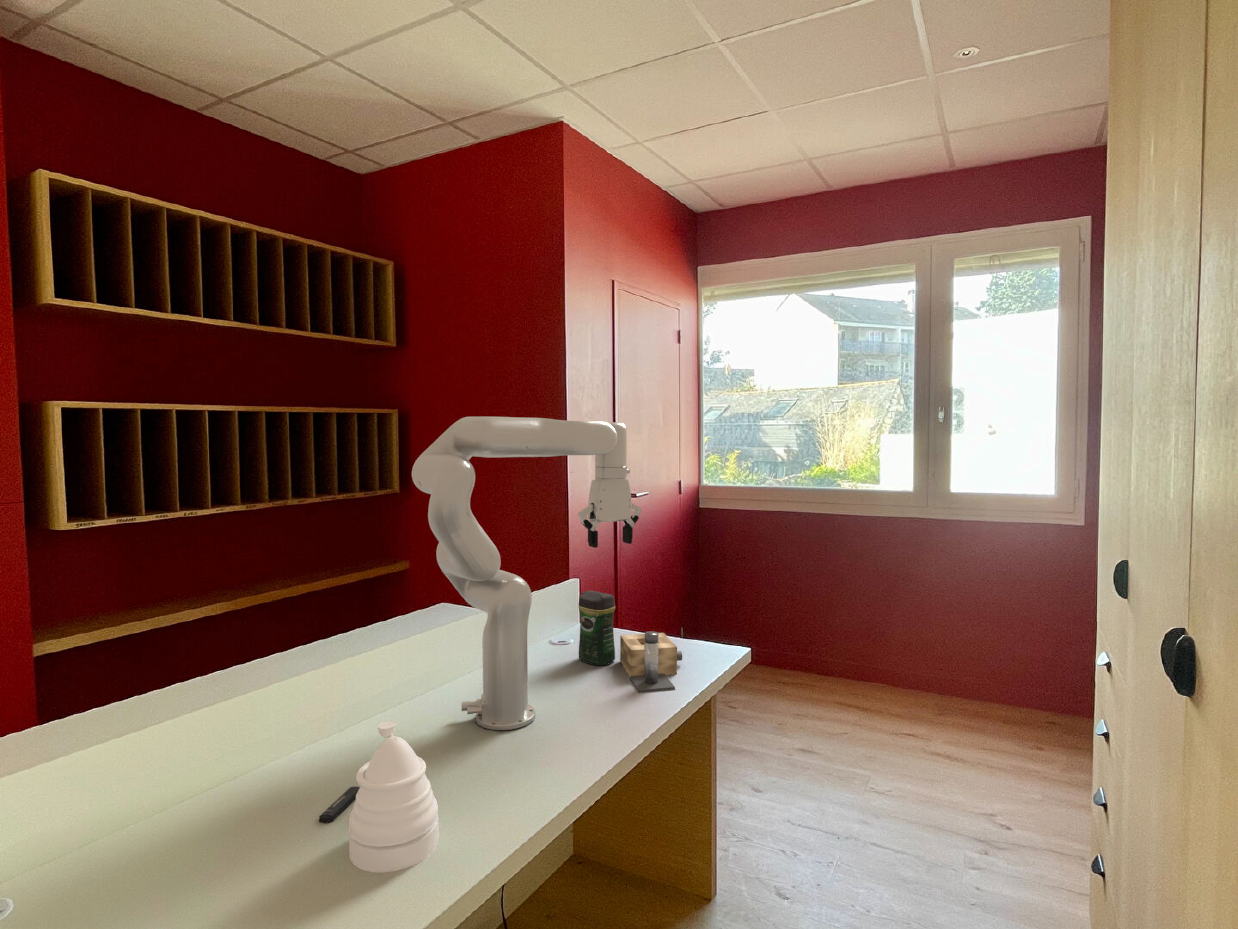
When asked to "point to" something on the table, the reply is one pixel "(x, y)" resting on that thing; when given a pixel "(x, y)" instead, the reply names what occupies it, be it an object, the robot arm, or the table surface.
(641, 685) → the mat
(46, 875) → the table surface
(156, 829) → the table surface
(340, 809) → the usb stick
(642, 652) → the block
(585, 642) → the coffee jar
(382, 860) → the honey pot
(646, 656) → the metal cylinder
